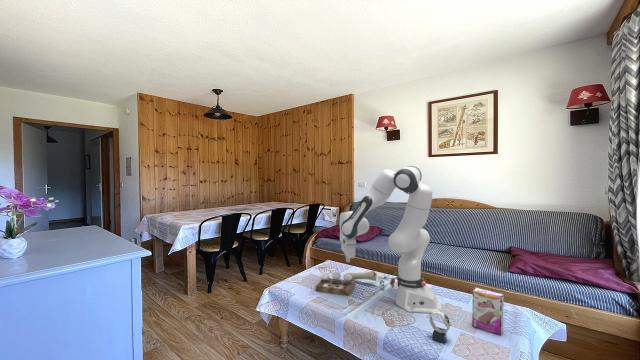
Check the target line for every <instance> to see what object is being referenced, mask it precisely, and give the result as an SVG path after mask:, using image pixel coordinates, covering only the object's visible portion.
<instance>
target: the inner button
mask: <svg viewBox="0 0 640 360" xmlns="http://www.w3.org/2000/svg"><path fill="white" fill-rule="evenodd" d="M343 280H349V281H353V280H352V275H351V274H346V273H344V274H343Z"/></svg>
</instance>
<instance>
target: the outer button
mask: <svg viewBox="0 0 640 360" xmlns="http://www.w3.org/2000/svg"><path fill="white" fill-rule="evenodd" d="M320 276H321V280H329V279H330V274H328V273H321V275H320Z"/></svg>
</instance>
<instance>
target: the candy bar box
mask: <svg viewBox="0 0 640 360" xmlns="http://www.w3.org/2000/svg"><path fill="white" fill-rule="evenodd" d="M504 297H505V295H504V294H502V293H499V292H494V291H491V290H487V289H484V288H480V287H474V289H473V290H472V316H471V317H472V318H471V321H472V322H471V325H472V327H473V328H476V329H480V330H483V331H486V332H488V333H489V332H490V333H491V334H495V335H497V336H502V333H503V332H504V304H505V302H504V301H505V299H504Z"/></svg>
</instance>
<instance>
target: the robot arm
mask: <svg viewBox="0 0 640 360" xmlns="http://www.w3.org/2000/svg"><path fill="white" fill-rule="evenodd" d="M421 180H422V172H421V170H420V169H419V168H418V167H417V166H414V165H408V166H404V167H402V168H400V169H399V170H398V171H394V170H392V169H387V168H386V169H382V171H381V172H380V173H379V174H378V175H377V177H376V178H375V180H374V181H373V183H372V184H371V185H370V187H369V189H368V191H367V192H366V194H365V195H364V196H363V197H362V199H361V200H360V201H359V203H358V204H357V205H356V207H355V208H354V209H353V210H346V211H345V210H344V211H342V212H341V213H340V215H339V221H338V222H339V241H340V245H341V246H340V247H341V250H342V252H343V253H344V256H345V261H346V262H347V263H350V262H351V259H355V257H356V244H357V239H356V237H357V236H361V235H363V234H367V233H368V232H369V230H370V222H369V221H368V219H367V218H366V217H365V216H366V215H367V214H368V213H369V211H371V210H373V209H375V208H378V207H379V206H381V205H384V204H385V203H386V202H387V201H388V199H390V198H391V195H392V193H393V192H394V190H395V189H396V188H397V189H398V190H400V191H402V192H403V193H405V194H407V195H408V199H407V202H406V203H407V204H406V206H405V210H404V214H403V216H402V219H401V221H400V222H399V224H398V226H397V228H396V229H395V231H393V232H392V234H390V235H389V237H388V240H387V241H388V242H387V243H388V247H389V248H390V250H391V251H393V252H394V253H397V254H402V255H401V256H400V258H399V260H398V268H397V269H398V271H397V274H398V275H397V276H398V278H397V279H396V282H397V294H396V297H395V304H396V305H397V306H398V307H400V308H402V309H404V310H405V311H406V312H409V313H418V314H419V313H420V314H422V313H423V314H432V313H433V312H434V311H441V312H442V303H441V302H440V301H439V300H438V299H437V296H436V294H435V292H434V291H433V290H432V289H431V288H430V287H428V286H427V282H426V280H425V278H424V277H421V276H422V275H421V274H422V273H421V271H422V261H423V260H422V259H423V256H424V253H425V250H426V248H427V246H428V245H429V244H430V241H431V237H430V234H429V232H428V231H427V230H426V229H425V228H423V227H424V226H425V225H426V223H427V220H428V217H429V215H430V210H431V206H432V201H433V189H432V188H431V186H429V185H428V184H424V183H422V181H421Z"/></svg>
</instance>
